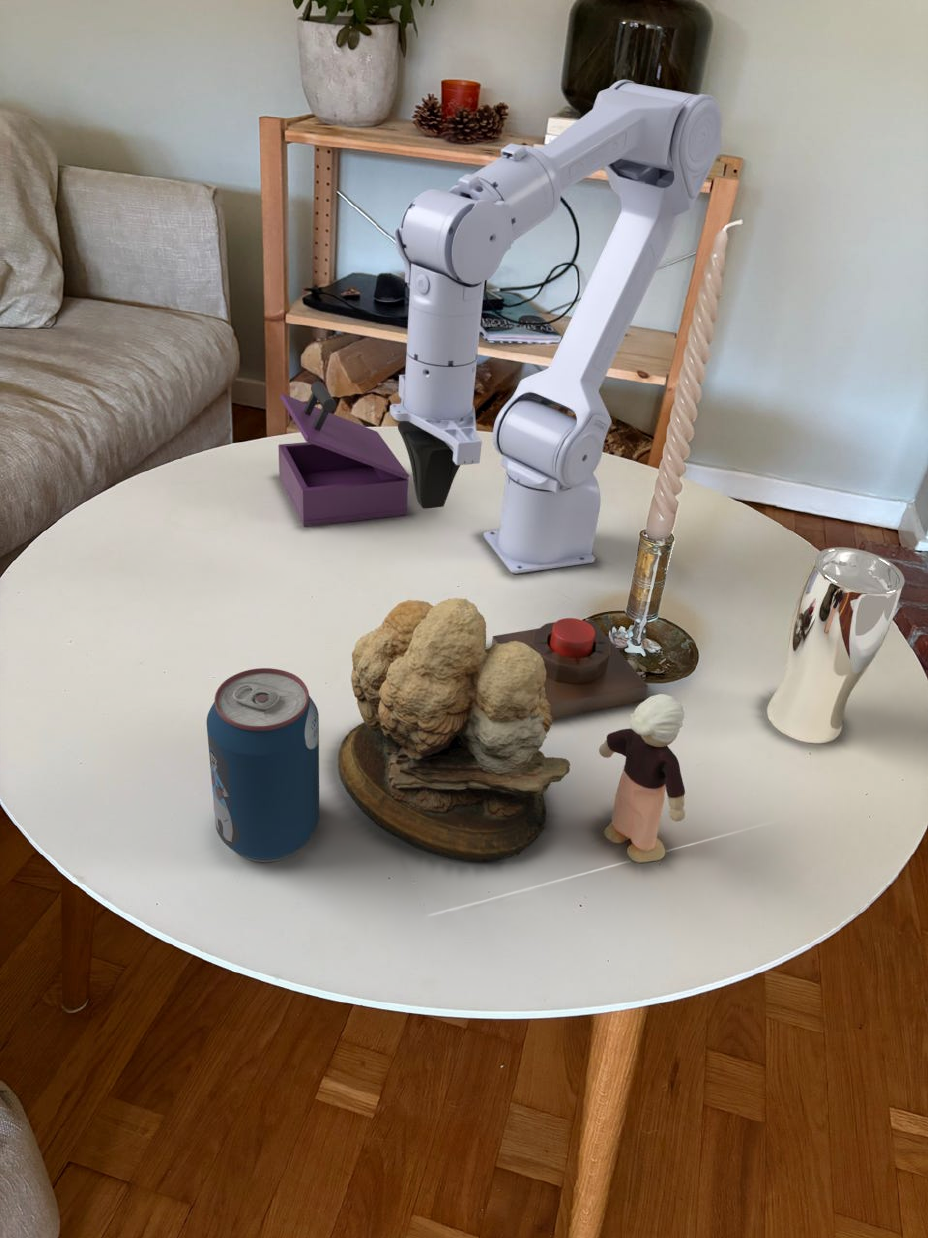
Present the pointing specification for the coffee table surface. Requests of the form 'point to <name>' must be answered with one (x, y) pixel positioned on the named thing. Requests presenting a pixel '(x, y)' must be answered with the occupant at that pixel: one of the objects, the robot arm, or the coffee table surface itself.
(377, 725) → the tan rock sculpture
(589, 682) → the button block
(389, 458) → the purple flat piece
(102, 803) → the coffee table surface
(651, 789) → the grandmother figurine
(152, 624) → the coffee table surface
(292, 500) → the box
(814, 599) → the beer glass
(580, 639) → the button
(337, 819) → the coffee table surface
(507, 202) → the robot arm
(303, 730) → the soda can
